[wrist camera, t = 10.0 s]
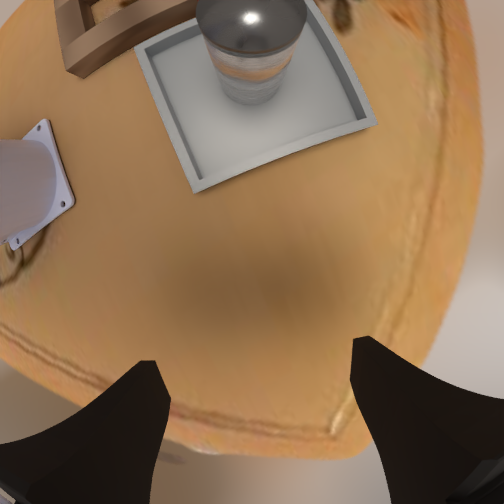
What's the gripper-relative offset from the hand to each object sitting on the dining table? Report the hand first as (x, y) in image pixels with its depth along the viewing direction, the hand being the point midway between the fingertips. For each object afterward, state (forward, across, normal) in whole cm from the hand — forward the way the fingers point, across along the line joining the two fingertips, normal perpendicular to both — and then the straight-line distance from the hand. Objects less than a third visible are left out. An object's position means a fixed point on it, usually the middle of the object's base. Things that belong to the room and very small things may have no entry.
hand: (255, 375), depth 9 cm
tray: (+10, -2, -13) cm, 17 cm away
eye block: (+10, +7, -23) cm, 26 cm away
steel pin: (+10, -2, -13) cm, 16 cm away
